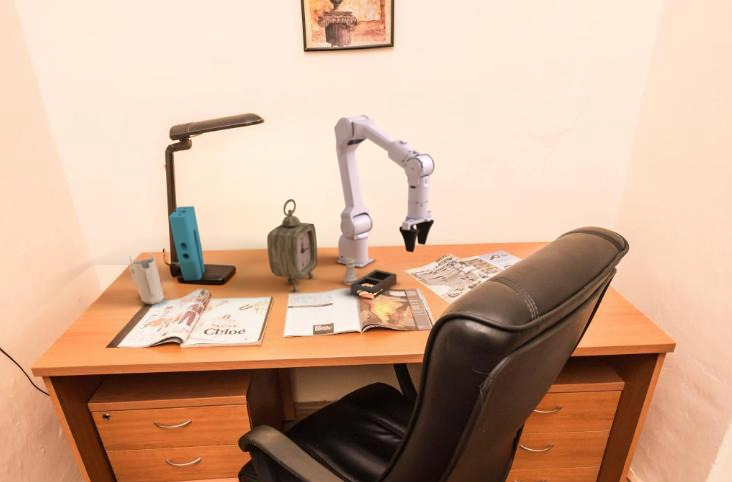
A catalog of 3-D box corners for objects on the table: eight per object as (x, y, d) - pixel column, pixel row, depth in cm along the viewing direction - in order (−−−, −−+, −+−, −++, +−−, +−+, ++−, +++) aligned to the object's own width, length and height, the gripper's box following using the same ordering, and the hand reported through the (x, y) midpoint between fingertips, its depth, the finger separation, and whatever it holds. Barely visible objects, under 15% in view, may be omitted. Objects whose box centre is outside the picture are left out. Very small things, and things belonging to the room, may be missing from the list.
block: (190, 268, 158) (177, 206, 148) (206, 267, 159) (194, 206, 149) (182, 282, 148) (168, 217, 138) (199, 281, 148) (186, 216, 138)
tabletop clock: (298, 295, 139) (290, 207, 127) (270, 291, 142) (260, 204, 129) (318, 276, 151) (313, 194, 138) (292, 273, 153) (285, 192, 141)
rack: (372, 299, 136) (372, 289, 134) (350, 294, 139) (350, 284, 138) (396, 283, 145) (396, 274, 144) (375, 278, 149) (375, 269, 147)
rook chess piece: (345, 286, 144) (344, 261, 140) (341, 281, 148) (340, 255, 144) (359, 284, 145) (359, 259, 141) (356, 279, 149) (355, 254, 145)
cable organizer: (159, 288, 144) (150, 250, 138) (167, 304, 135) (157, 263, 129) (135, 293, 141) (125, 254, 135) (141, 309, 132) (130, 267, 126)
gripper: (419, 208, 129) (416, 257, 136) (441, 197, 140) (438, 243, 146) (396, 205, 132) (394, 253, 139) (419, 194, 143) (417, 239, 150)
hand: (415, 247), depth 143 cm, fingers open, 7 cm apart
